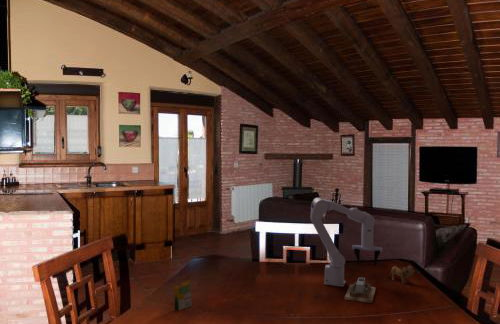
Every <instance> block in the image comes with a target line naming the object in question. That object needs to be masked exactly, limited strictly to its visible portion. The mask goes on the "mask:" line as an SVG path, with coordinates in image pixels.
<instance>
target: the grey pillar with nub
mask: <svg viewBox="0 0 500 324" xmlns="http://www.w3.org/2000/svg"><path fill="white" fill-rule="evenodd" d="M356 282H357V283H356V292H357V293H364V290H365V283H366V277H364V276H358V278H357V281H356Z"/></svg>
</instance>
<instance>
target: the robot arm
mask: <svg viewBox="0 0 500 324" xmlns="http://www.w3.org/2000/svg"><path fill="white" fill-rule="evenodd" d="M332 210H333V211H335V212H339V213H341V214H345V215H346V216H347V218H348V219H349V220H351V221H352V220H353V221H355V222H357V223H359V224H361V238H360V241H361V243H360V244H361V245H360V244H352V245H351V246H352V247H351V250H353V252H354V255H355V257H356V261H357V265H360V264H361V251H367V252H374V257H373V258H374V259H373V260H374V261H373V266H374V267H376V266H377V265H376V264H377V260H378V257H379V256H380V253H383V247H380V246H375V245H374V227H375V224H376V219H375V217H374V215H372V214H369V213H368V212H366V211H363V210H359V208H358V207H350V208H349V207H348V208H347V207H346V206H343V205H342V204H338V203H336V202H334V201H332V200H329V199H323V198H322V197H315V198H313V200H312V202H311V205H310V221H311V223H312V225H313V227H314V229H315V231H316V232H317V234H318V236H319V238H320V240H321V242H322V243H323V245H324V247H325V249H326V252H327V253H328V254H327V255H328V259H329V261H330V262H329V264H325V266H324V283H323V284H324V285H327V286H334V287H344V286H345V284H346V282H347V281H346V280H345V264H346V258H345V257H344V256H343V255H342V254H341V252H340V251H339V249H338V248H337V246H336V244H335V243H334V241H333V238H332V237H331V236H330V234H329V232H328V229H327V228H326V227H325V225H324V223H323V221H322V219H323V216H324V214H325V213H326V212H327V211H328V212H330V211H332Z"/></svg>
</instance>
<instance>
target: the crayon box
mask: <svg viewBox="0 0 500 324" xmlns="http://www.w3.org/2000/svg"><path fill="white" fill-rule="evenodd" d="M173 289H174V290H173V291H174V293H173V295H174V310H175V311H179V312H180V311H182V310H184V309H186V308H189V307H192V279H189V280H186V281H183V282H180V283H178V285H176V286H173Z"/></svg>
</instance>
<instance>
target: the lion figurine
mask: <svg viewBox="0 0 500 324" xmlns="http://www.w3.org/2000/svg"><path fill="white" fill-rule="evenodd" d="M414 272H415V269H414V267H412V266H411V265H407V266H405V267H401V268H399V267H398V266H396V265H394V266H392V268H391V270H390V274H388V275H387V278H388V277H390V276H391V280H392V281H395V280H396V279H395V278H396V276H395V275H397V276H399V277H401V283H402V284H406V283H408V281H407V279H409V278H410V277H412V276H413V275H414Z"/></svg>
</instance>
